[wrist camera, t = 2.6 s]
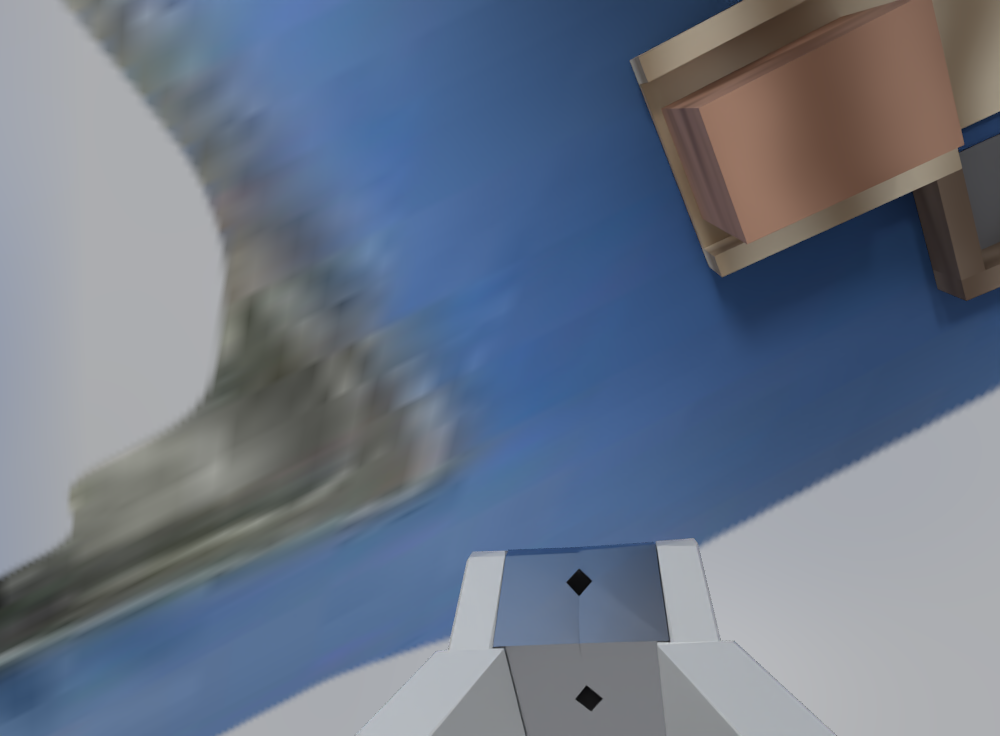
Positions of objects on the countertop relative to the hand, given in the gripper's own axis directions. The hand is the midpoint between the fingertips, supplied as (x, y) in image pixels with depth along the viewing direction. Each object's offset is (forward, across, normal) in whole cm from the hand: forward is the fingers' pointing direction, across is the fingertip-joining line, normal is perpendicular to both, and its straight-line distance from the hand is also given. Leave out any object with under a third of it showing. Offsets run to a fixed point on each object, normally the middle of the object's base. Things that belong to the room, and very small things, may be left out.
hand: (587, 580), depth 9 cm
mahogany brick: (+29, -9, -1) cm, 30 cm away
